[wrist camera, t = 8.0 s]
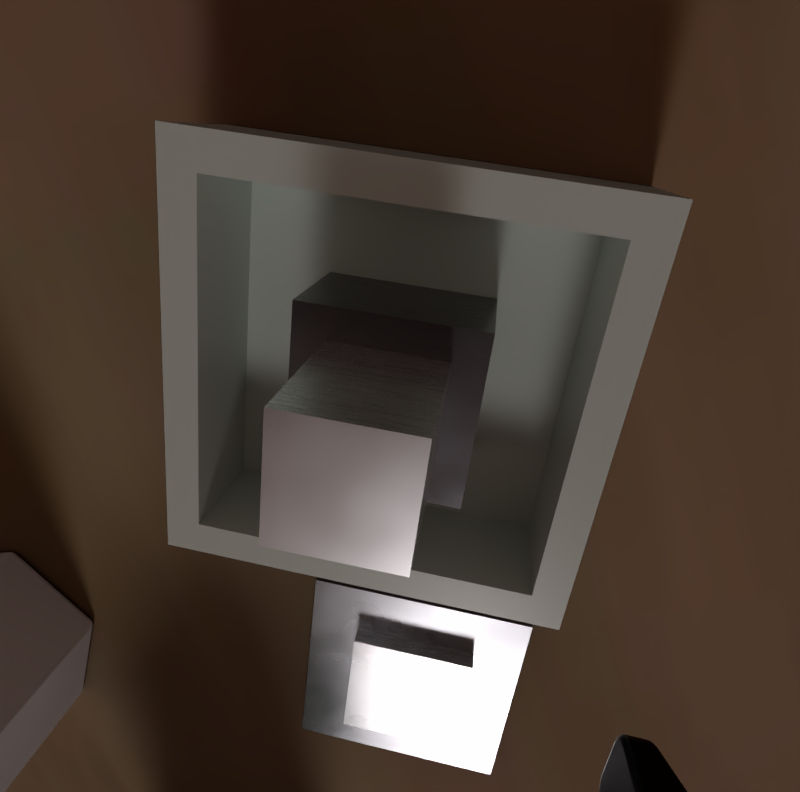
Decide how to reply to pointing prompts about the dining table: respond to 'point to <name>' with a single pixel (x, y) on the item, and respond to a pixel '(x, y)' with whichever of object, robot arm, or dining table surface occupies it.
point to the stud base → (411, 674)
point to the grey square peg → (372, 418)
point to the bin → (421, 266)
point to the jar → (35, 661)
